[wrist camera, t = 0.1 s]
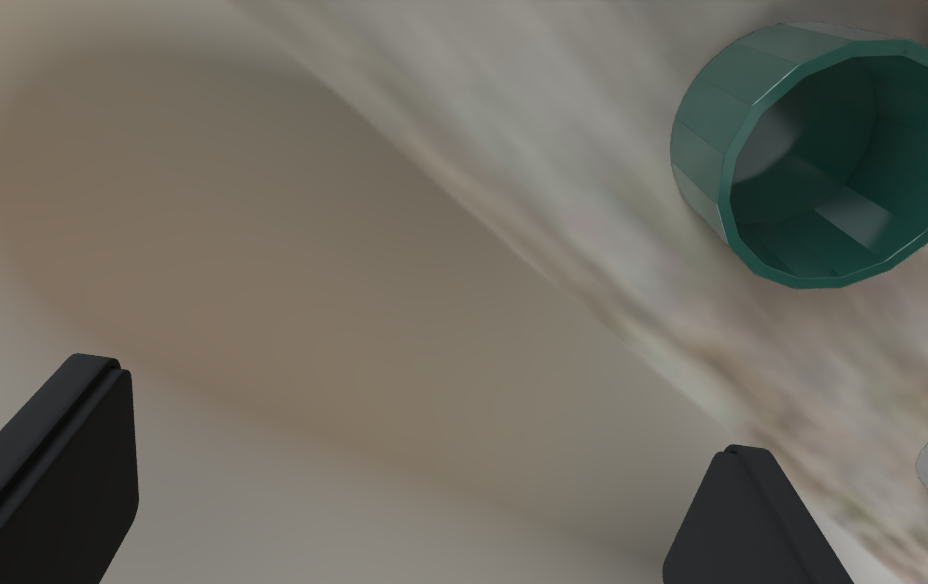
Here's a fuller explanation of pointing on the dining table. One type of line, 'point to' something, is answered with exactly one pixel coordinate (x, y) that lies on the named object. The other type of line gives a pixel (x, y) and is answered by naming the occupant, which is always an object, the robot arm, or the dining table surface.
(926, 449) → the cup
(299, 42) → the dining table surface
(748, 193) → the pot
